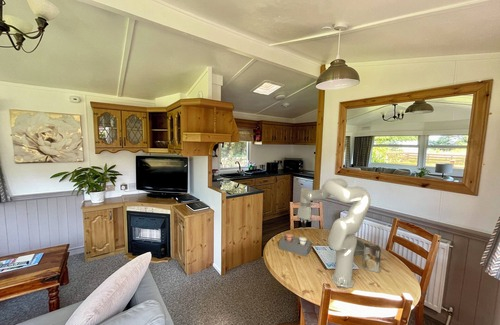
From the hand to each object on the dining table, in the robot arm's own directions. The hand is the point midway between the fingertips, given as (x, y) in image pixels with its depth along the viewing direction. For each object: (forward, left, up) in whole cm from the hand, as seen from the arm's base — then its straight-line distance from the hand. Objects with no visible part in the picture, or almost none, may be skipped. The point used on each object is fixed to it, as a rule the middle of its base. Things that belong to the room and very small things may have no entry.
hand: (303, 227), depth 161 cm
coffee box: (+3, -47, -19) cm, 50 cm away
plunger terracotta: (0, +11, -15) cm, 19 cm away
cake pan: (+26, -32, -20) cm, 45 cm away
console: (0, +5, -19) cm, 20 cm away
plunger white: (0, 0, -15) cm, 15 cm away
